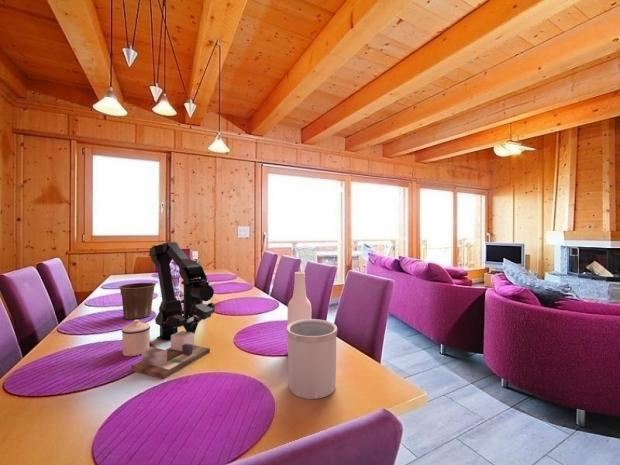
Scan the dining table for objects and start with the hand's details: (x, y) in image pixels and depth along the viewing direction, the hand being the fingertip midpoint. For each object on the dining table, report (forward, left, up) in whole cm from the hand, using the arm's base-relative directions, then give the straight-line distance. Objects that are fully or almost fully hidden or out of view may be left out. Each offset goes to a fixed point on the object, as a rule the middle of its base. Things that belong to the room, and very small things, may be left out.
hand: (191, 337), depth 111 cm
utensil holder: (+52, -8, -4) cm, 53 cm away
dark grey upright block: (+5, -8, -2) cm, 10 cm away
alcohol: (+40, +11, -4) cm, 42 cm away
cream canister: (-18, -10, -4) cm, 21 cm away
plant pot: (-55, +21, -4) cm, 59 cm away
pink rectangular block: (+2, -4, -2) cm, 5 cm away
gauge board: (+2, -11, -4) cm, 12 cm away
